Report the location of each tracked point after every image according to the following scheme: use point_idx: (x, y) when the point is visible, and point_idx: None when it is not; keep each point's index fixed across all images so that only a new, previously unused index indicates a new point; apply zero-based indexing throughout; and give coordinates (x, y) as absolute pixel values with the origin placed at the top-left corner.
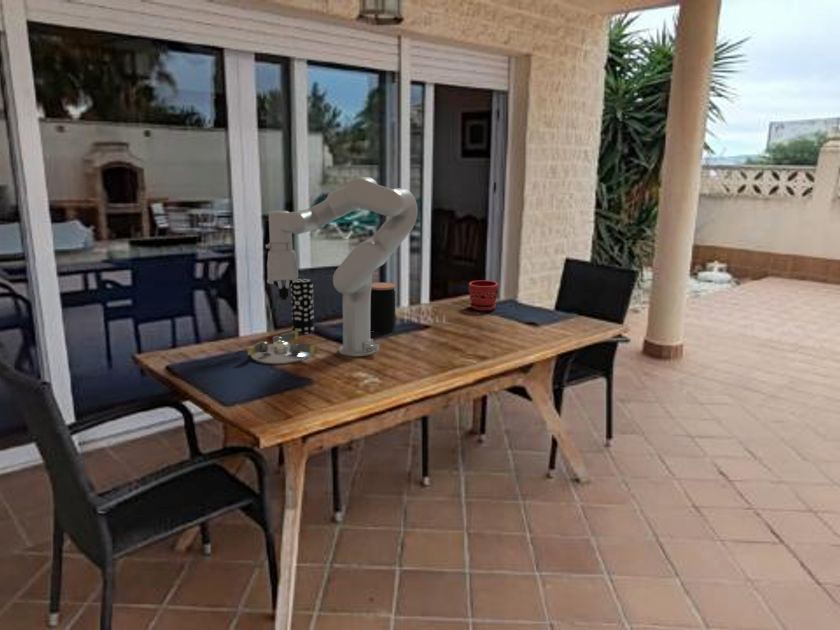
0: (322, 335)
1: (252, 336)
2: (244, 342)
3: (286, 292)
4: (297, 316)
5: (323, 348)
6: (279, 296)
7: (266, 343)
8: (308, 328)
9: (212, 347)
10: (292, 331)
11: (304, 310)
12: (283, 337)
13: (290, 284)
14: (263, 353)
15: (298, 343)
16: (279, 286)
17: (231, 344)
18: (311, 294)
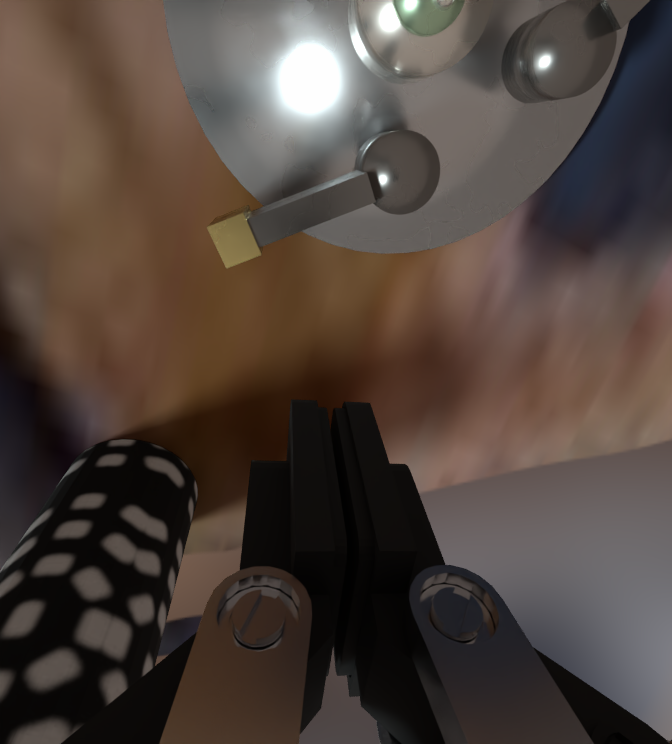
0: (21, 380)
1: None
2: (490, 406)
3: (279, 510)
4: (143, 535)
5: (44, 46)
6: (403, 476)
7: (557, 5)
8: (96, 461)
9: (659, 381)
10: (253, 246)
11: (69, 558)
12: (348, 176)
13: (128, 701)
14: None
15: None
16: (483, 634)
17: (560, 396)
18: None
